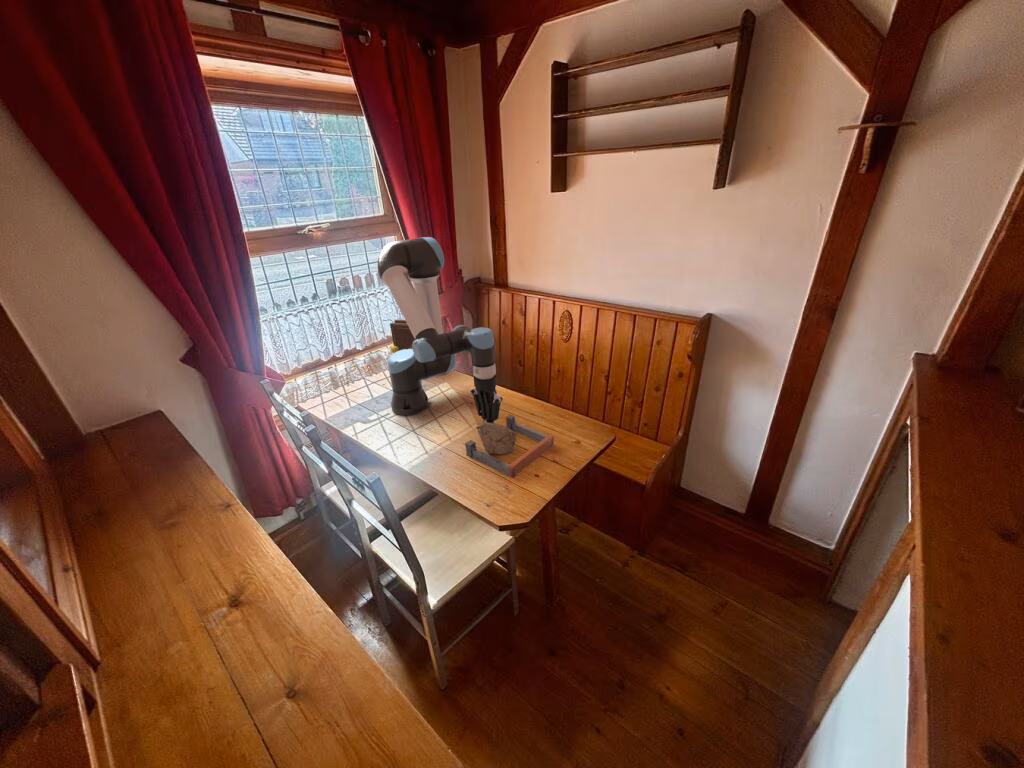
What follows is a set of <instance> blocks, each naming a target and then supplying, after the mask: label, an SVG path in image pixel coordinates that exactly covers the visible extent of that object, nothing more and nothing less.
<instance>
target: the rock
mask: <svg viewBox="0 0 1024 768" xmlns="http://www.w3.org/2000/svg"><path fill="white" fill-rule="evenodd" d="M476 430H477V434H478V437H479V438H480V440H481V443H482V445H483V447H484V451H485V452H486V453H487V454H494V455H505V454H511V453H512V452H513V451H514V450H515V445H516V442H517V434H516V433H515V431H513V430H510V429H509V428H508V427H506V425H504V424H497V423H495V422H494V423H483V422H481V423H479V425H477V426H476Z"/></svg>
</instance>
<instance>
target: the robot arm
mask: <svg viewBox="0 0 1024 768" xmlns="http://www.w3.org/2000/svg"><path fill="white" fill-rule="evenodd" d="M444 266H445V257H444V252H443V250H442V247H441V245H440V244H439V242H438V241H437V240H436V239H435V238H433V237H431V236H427V237H425V236H424V237H416V238H409V239H402V240H394V241H391V242H389V243H387V244H386V245H385V246H384V247H383V248H382V249H381V251H380V252H379V256H378V259H377V272H378V276H379V278H380V281H381V282H382V284H383V285H384V286H387V287H388V289H389V291H390V293H391V295H392V297H393V299H394V301H395V303H396V305H397V306H398V309H399V311H400V312H401V315H402V316H403V318H404V319H403V320H406V322H407V324H408V326H409V328H410V330H411V332H412V334H413V336H414V338H415V341H414V342H413V344H412V348H413V349H407V350H406V349H404V350H400V351H397V352H395V353H392V354H391V355H390V356H389V357H388V360H387V368H388V369H387V371H388V372H389V373H388V374H389V377H390V384H391V388H392V397H391V402H390V406H391V407H390V408H391V411H392V412H393V413H394V414H396V415H399V416H413V415H416V414H420V413H422V412H423V411H425V410H426V409H427V408H428V407H429V405H430V402H429V397H428V395H427V394H426V391H425V390H424V388H423V385H422V384H423V383H422V381H424V380H428V379H430V378H434V377H437V376H440V375H445V374H446V373H450V372H452V371H453V370H454V368H455V366H456V361H457V359H456V354H460V353H463V352H466V353H468V354H470V356H471V363H472V364H471V365H472V374H473V385H474V388H472V389H471V390H470V393H471V395H472V397H473V401H474V405H475V408H476V412H477V416H479V417H481V420H482V423H494V424H495V421H497V420H498V419H499V415H500V409H501V404H502V401H503V399H504V398H503V397H502V396H499V395H498V393H497V389H496V386H497V384H498V383H497V382H498V381H497V374H496V373H497V368H496V353H495V352H496V351H495V339H494V332H493V330H492V329H491V328H489V327H484V326H481V327H475V328H472V327H471V326H467V325H465V324H457V325H456V326H455V327H454V328H452V329H451V331H447V332H444V328H443V322H442V321H443V320H442V313H441V305H440V297H439V289H438V282H437V281H438V278H439V277H440V276H441V274H440V270H441V269H443V268H444ZM411 281H412V282H413V284H412V282H411Z"/></svg>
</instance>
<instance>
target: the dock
mask: <svg viewBox="0 0 1024 768" xmlns="http://www.w3.org/2000/svg"><path fill="white" fill-rule="evenodd" d="M505 423H506V425H505V426H506V427H508V428H509V429H510V430H513V431H514V433H515V432H516V433H519V434H521V435H523V436H525V437H526V438H529V439H532V440H534V441H537V442H538V443H536V444H534V446H532V447H531V448H530V449H528V450H527V451H526V452H524V453H523V454H522V455H520V456H519V457H518V458H516V459H515V460H514V461H512V462H511V463H510V464H509V463H506V462H505V461H502V460H500V459H498V458H496V457H494V456H493V455H491V454H490V453H488V452H486V451H485V452H484V451H482V450H481V449H478V448H477V443H476V441H474V440H472V439H469V440H467V441H466V442H465V451H466V456H468V457H469V458H474V459H475V460H477V461H479V462H481V463H483V464H485V465H487V466H489V467H491V468H493V469H494V470H496V471H499V472H500V473H502V474H504V475H506V476H508V477H510V478H512V479H513V478H514V477H516V476H517V475H518V474H520V473H522V471H524V470H525V469H526V468H527V467H528V466H530V464H532V463H533V462H534V461H536V460H537V459H538V458H539V457H540V456H542V455H543V454H545V453H546V452H547V451H548V450H549V449H551V448H552V447H553V446H554V445H555V444H554V442H555V440H554V439H555V438H554V437H555V435H554V434H551V433H549V434H546V433H543V432H541V431H539V430H536V429H534V428H532V427H529V426H527V425H524V424H522V423H519V422H516V416H515V415H513V414H508V415H507V416H505Z"/></svg>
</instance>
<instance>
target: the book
mask: <svg viewBox="0 0 1024 768" xmlns="http://www.w3.org/2000/svg"><path fill="white" fill-rule="evenodd" d="M389 326H390V333H391V337H392V343H391V344H390V346H389V347H390V348H389V349H390V351H391V353H392V354H394V353H395V352H397V351H400V350H404V349H406V350H407V349H413V348H412V344H413V342H414V341H415V338H414V336H413V334H412V332H411V330H410V328H409V326H408V324H407V322H406V320H405V319H394V322H390V323H389Z"/></svg>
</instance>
